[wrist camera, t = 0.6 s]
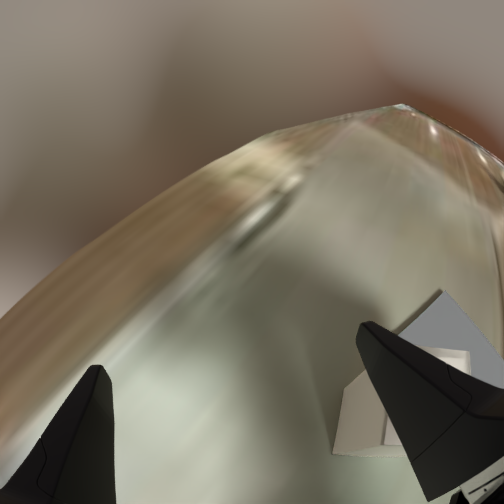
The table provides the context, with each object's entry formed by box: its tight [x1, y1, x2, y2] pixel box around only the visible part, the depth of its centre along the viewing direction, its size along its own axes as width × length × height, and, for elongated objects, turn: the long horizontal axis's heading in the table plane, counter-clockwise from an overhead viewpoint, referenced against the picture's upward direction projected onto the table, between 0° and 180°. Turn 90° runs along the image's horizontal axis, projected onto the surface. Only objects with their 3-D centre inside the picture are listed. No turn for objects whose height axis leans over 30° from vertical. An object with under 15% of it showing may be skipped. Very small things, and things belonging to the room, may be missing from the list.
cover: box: [332, 345, 471, 457], centre depth 16 cm, size 6×6×10 cm
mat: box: [398, 291, 504, 389], centre depth 22 cm, size 16×10×1 cm, turn 30°
